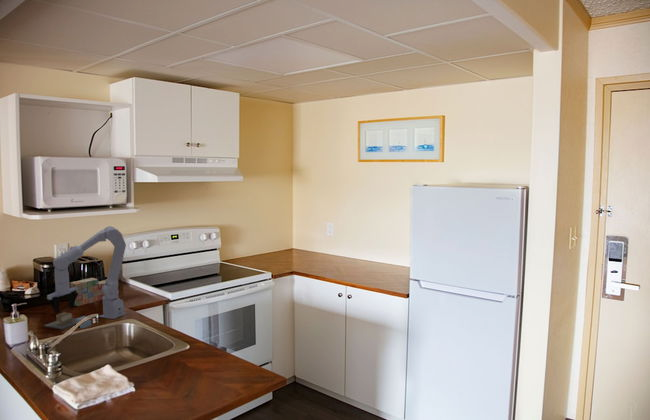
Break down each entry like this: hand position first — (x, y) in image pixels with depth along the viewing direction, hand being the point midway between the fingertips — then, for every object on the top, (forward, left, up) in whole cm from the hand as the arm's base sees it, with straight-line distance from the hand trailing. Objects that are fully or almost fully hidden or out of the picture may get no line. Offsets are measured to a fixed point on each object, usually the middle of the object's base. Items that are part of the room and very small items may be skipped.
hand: (64, 310), depth 218 cm
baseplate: (0, 0, -7) cm, 7 cm away
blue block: (-11, -1, -7) cm, 13 cm away
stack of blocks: (+19, -33, -7) cm, 39 cm away
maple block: (0, 0, -6) cm, 6 cm away
